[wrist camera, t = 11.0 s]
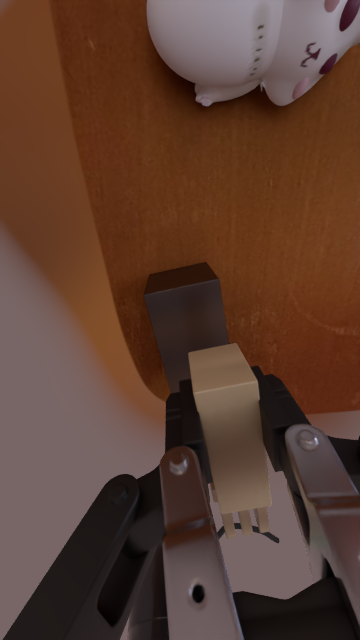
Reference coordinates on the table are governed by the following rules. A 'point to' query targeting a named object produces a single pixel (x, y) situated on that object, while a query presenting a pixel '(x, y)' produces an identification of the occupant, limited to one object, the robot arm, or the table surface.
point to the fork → (232, 434)
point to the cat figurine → (252, 43)
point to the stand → (185, 316)
